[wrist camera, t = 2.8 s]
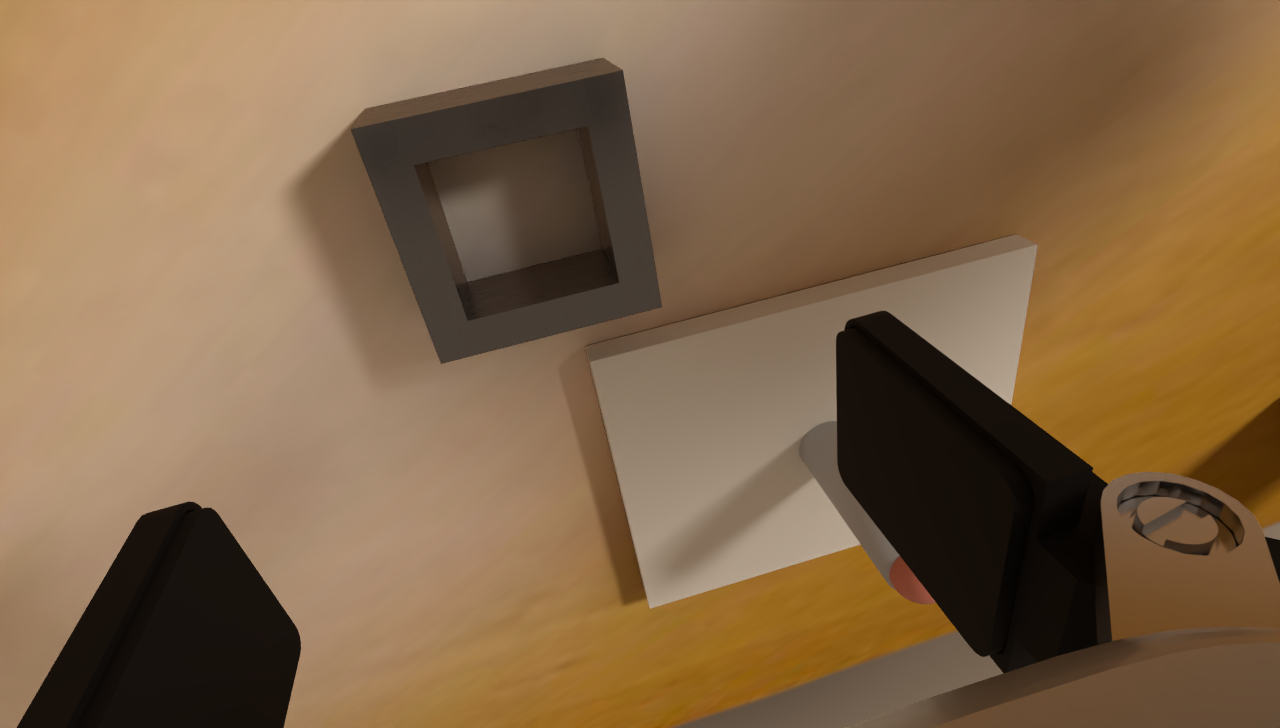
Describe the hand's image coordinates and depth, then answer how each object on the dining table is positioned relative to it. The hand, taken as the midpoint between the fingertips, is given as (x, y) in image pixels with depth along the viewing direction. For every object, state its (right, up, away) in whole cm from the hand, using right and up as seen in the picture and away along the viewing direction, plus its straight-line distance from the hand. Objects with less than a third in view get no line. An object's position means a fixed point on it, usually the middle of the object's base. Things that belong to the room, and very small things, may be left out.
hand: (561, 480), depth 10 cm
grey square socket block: (-3, +7, +12) cm, 14 cm away
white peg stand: (+9, -1, +20) cm, 22 cm away
